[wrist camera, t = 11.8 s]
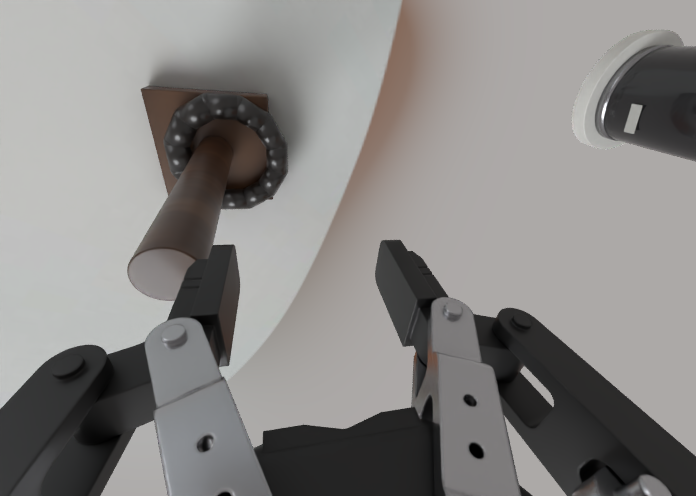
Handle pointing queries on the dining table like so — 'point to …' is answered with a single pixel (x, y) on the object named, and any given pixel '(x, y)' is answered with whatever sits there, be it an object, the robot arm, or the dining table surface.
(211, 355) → the robot arm
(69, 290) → the dining table surface
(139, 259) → the brown peg stand
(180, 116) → the ring
